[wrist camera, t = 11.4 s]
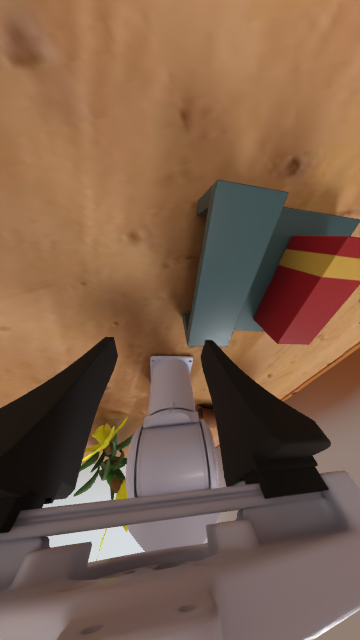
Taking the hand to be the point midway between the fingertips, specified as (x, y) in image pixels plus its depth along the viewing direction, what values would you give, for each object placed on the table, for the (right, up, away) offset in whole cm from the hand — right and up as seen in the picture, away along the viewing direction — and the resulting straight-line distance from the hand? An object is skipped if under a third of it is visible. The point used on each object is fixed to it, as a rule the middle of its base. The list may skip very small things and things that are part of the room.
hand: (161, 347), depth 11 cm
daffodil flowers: (-17, -32, +31) cm, 48 cm away
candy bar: (+14, +6, +5) cm, 17 cm away
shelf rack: (+11, +8, +7) cm, 15 cm away
